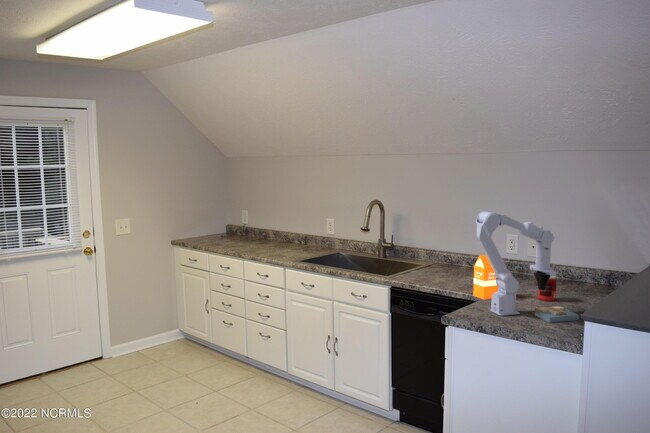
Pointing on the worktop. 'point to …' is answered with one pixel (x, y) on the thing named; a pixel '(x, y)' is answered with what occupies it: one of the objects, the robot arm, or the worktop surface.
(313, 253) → the worktop surface
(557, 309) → the t block
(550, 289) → the canned food
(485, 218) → the robot arm
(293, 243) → the worktop surface
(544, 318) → the dock
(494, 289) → the orange juice
